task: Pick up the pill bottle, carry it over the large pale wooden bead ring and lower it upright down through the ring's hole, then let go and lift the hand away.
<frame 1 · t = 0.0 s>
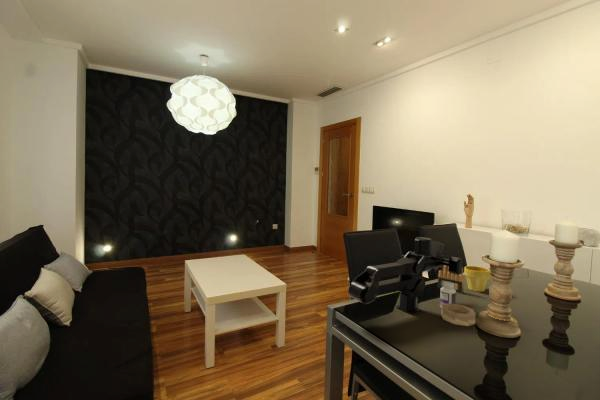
hand: (451, 259, 126), 17 cm above the table, tool horizontal, fingers open, 9 cm apart
pill bottle: (447, 308, 116), on the table
ammunition clip: (450, 290, 137), on the table
bead ring: (457, 318, 107), on the table
plant pot: (476, 289, 139), on the table
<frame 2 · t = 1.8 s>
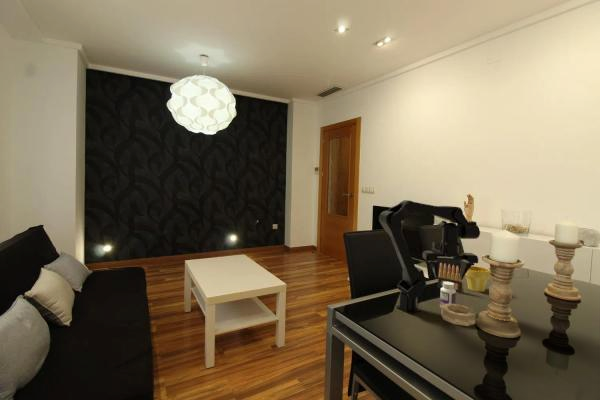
hand: (448, 278, 116), 11 cm above the table, tool pointing down, fingers open, 9 cm apart
nothing on the table moved.
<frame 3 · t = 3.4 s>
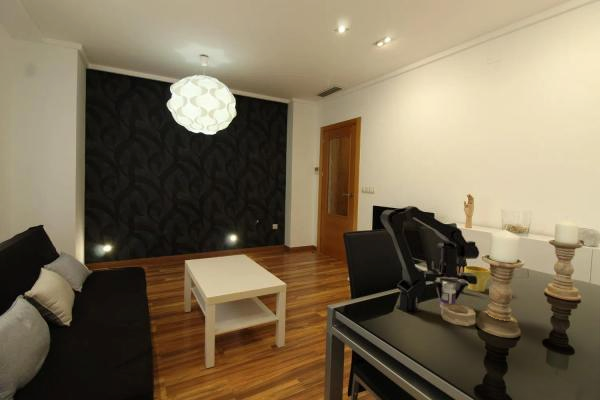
hand: (447, 298, 116), 4 cm above the table, tool pointing down, fingers closed on pill bottle, 5 cm apart
pill bottle: (447, 308, 116), on the table, touching gripper
everything else where it was.
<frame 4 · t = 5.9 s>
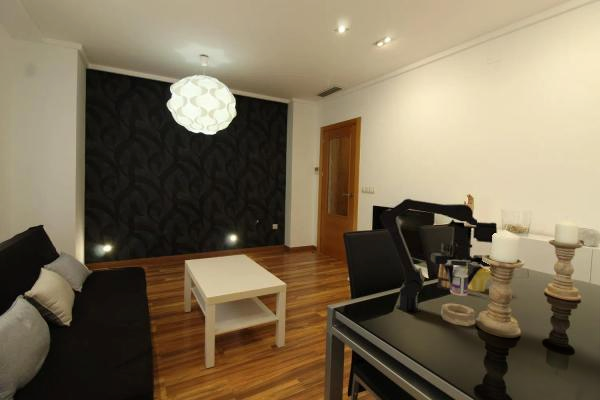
hand: (459, 283, 106), 13 cm above the table, tool pointing down, fingers closed on pill bottle, 5 cm apart
pill bottle: (458, 294, 106), point 9 cm above the table, touching gripper
everything else where it was.
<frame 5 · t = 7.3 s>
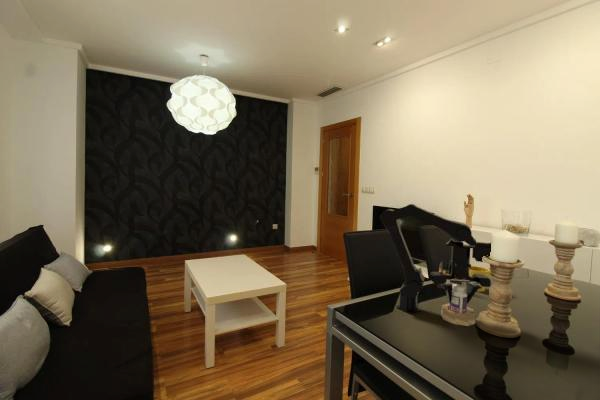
hand: (458, 302, 106), 6 cm above the table, tool pointing down, fingers closed on pill bottle, 5 cm apart
pill bottle: (457, 313, 106), point 2 cm above the table, touching gripper
everything else where it was.
when the fingers open (5 cm above the table, at t = 8.4 s): pill bottle drops 1 cm, resting in bead ring.
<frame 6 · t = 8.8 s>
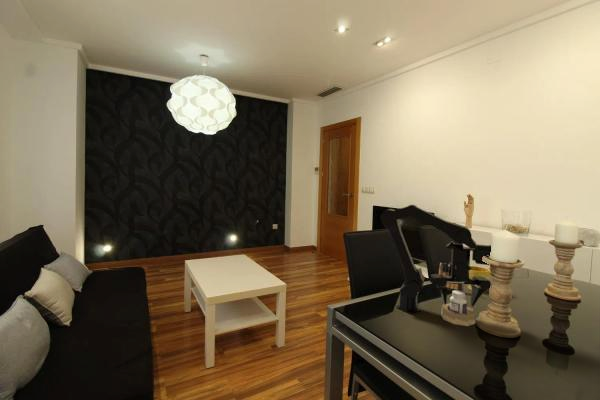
hand: (458, 305, 106), 5 cm above the table, tool pointing down, fingers open, 9 cm apart
pill bottle: (457, 319, 107), resting in bead ring
everything else where it was.
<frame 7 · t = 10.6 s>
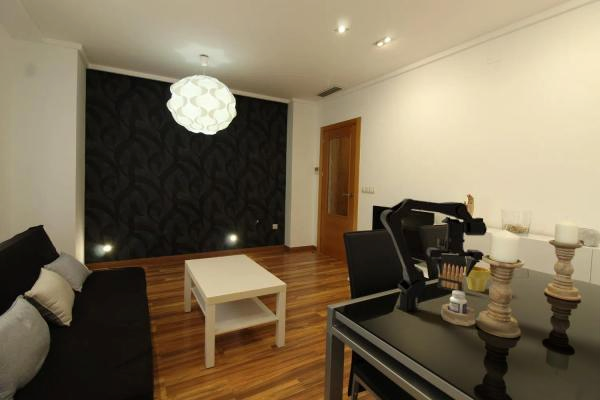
hand: (453, 275, 114), 13 cm above the table, tool pointing down, fingers open, 9 cm apart
nothing on the table moved.
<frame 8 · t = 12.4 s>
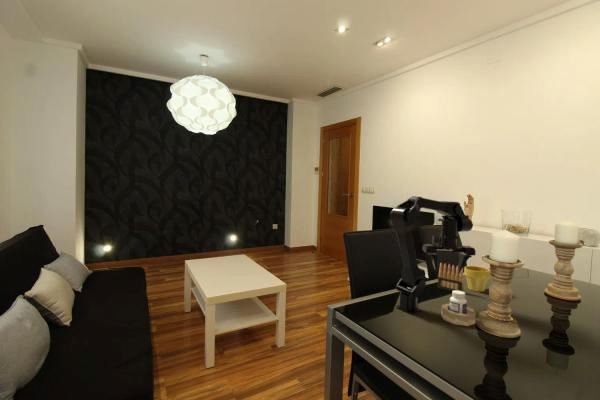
hand: (447, 270, 122), 13 cm above the table, tool pointing down, fingers open, 9 cm apart
nothing on the table moved.
at the end: pill bottle 0.1 cm from the bead ring (horizontally); pill bottle tilted 0°; the gripper is holding nothing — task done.
